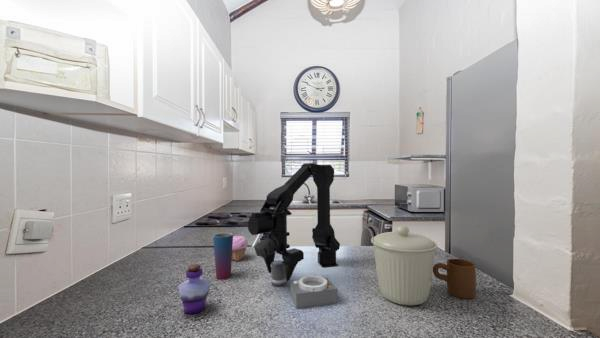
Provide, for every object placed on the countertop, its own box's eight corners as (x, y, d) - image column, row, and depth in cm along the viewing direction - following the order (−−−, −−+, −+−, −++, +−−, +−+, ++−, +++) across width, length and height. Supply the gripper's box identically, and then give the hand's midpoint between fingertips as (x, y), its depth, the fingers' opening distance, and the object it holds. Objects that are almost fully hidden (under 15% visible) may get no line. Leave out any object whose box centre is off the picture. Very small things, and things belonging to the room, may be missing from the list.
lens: (284, 280, 92) (284, 259, 92) (287, 286, 87) (287, 264, 87) (270, 281, 90) (269, 260, 90) (272, 288, 86) (271, 265, 86)
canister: (368, 306, 73) (367, 230, 73) (374, 280, 90) (373, 218, 90) (442, 319, 67) (441, 235, 67) (433, 288, 84) (432, 221, 84)
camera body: (327, 290, 83) (327, 273, 83) (337, 302, 75) (337, 284, 75) (290, 295, 80) (290, 277, 80) (296, 308, 72) (296, 289, 73)
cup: (236, 273, 98) (235, 232, 98) (229, 281, 91) (229, 237, 91) (218, 272, 99) (217, 232, 99) (210, 280, 92) (209, 237, 92)
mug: (438, 299, 77) (438, 266, 77) (428, 287, 85) (427, 257, 85) (481, 300, 76) (481, 267, 76) (467, 288, 84) (467, 258, 84)
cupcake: (222, 260, 112) (221, 236, 112) (237, 254, 120) (237, 232, 120) (236, 264, 107) (236, 239, 107) (251, 258, 115) (251, 235, 115)
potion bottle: (200, 298, 79) (200, 258, 79) (217, 308, 73) (217, 264, 73) (171, 310, 72) (171, 266, 72) (187, 322, 67) (186, 274, 67)
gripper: (242, 229, 90) (242, 275, 90) (277, 239, 76) (277, 293, 76) (268, 224, 98) (268, 266, 97) (304, 232, 84) (305, 282, 84)
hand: (278, 276), depth 89 cm, fingers open, 9 cm apart
